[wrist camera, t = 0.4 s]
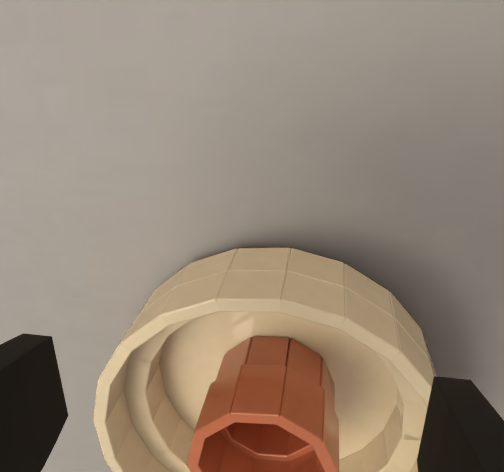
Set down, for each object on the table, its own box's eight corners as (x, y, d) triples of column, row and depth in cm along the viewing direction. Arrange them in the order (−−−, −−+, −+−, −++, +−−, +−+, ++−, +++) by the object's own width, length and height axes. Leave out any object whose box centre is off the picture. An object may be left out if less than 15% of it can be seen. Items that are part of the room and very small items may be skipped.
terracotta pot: (339, 430, 21) (339, 527, 17) (221, 423, 22) (195, 513, 18) (337, 334, 19) (338, 418, 15) (207, 331, 20) (175, 409, 16)
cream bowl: (421, 488, 23) (438, 582, 19) (160, 469, 25) (129, 549, 21) (442, 239, 18) (471, 301, 14) (109, 243, 20) (56, 297, 16)
